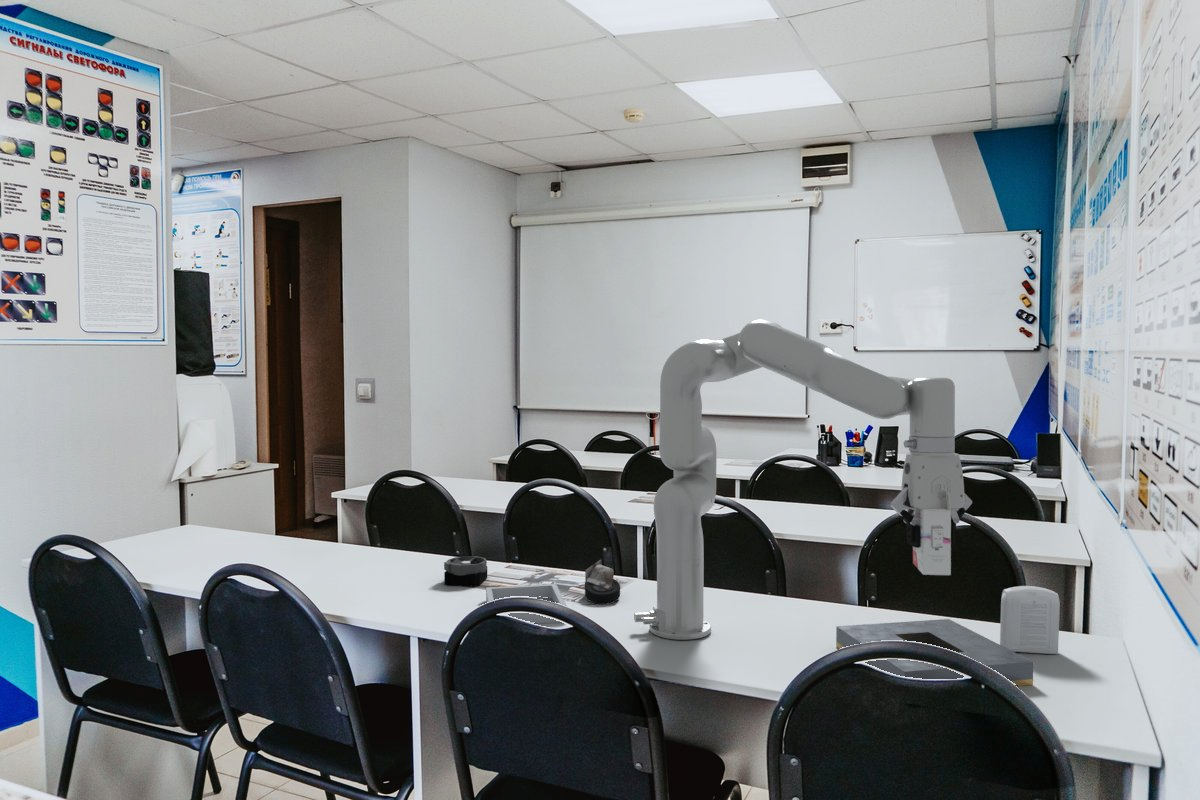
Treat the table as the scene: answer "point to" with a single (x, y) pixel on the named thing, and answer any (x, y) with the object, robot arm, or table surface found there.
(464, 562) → the cpu cooler
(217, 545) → the table surface
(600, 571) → the caster wheel
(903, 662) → the dock
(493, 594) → the charger corral
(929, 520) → the ink cartridge box
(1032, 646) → the photo printer
